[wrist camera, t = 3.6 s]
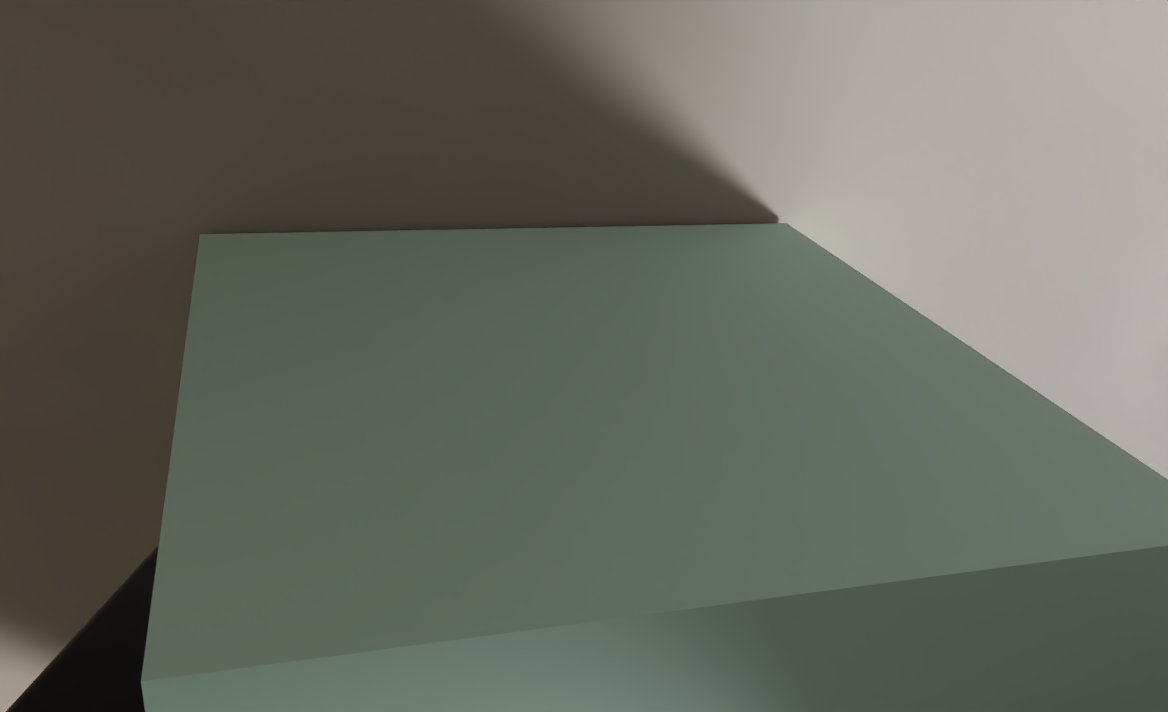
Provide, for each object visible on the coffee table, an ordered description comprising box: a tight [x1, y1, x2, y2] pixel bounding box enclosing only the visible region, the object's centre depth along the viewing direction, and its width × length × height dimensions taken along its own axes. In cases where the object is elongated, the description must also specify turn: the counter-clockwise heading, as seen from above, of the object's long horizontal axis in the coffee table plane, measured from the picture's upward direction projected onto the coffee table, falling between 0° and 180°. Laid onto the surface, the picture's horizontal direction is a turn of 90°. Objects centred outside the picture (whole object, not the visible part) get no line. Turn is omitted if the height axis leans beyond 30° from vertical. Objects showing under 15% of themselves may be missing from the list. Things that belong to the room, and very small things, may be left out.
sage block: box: [141, 223, 1168, 712], centre depth 8 cm, size 5×5×5 cm
